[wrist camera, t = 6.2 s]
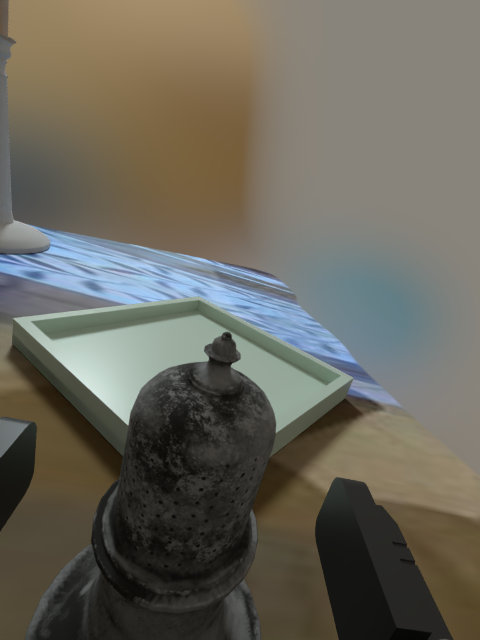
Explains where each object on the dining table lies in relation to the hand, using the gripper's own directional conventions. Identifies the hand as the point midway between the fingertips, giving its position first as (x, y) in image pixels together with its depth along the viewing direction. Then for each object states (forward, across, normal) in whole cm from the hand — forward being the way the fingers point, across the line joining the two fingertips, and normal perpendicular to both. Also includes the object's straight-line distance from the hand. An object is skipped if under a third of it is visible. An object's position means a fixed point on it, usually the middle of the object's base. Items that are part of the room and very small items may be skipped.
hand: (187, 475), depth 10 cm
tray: (+18, 0, -7) cm, 19 cm away
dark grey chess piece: (-2, 0, -7) cm, 7 cm away
